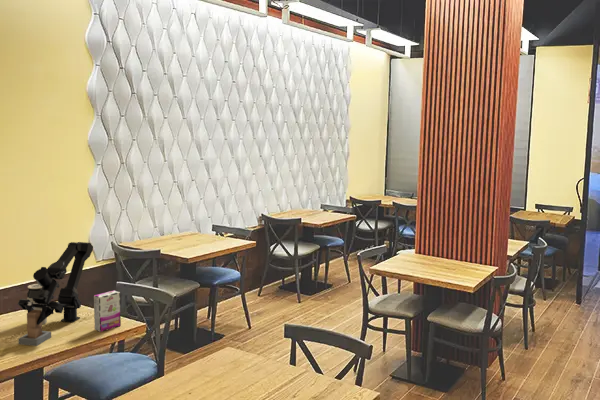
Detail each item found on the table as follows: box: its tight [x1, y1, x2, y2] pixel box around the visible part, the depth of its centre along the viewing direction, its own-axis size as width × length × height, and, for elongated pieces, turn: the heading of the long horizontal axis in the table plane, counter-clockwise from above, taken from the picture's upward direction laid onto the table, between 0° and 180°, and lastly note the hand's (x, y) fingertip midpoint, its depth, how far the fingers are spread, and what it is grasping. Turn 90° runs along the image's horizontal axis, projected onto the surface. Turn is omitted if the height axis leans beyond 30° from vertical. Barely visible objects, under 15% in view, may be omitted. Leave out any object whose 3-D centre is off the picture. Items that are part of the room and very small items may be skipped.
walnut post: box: [26, 310, 43, 339], centre depth 249 cm, size 5×4×13 cm
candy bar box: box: [93, 290, 122, 333], centre depth 267 cm, size 11×5×16 cm, turn 143°
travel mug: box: [26, 283, 48, 326], centre depth 270 cm, size 8×8×18 cm
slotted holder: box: [17, 330, 52, 347], centre depth 250 cm, size 10×8×2 cm
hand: (32, 323), depth 248 cm, fingers open, 4 cm apart
